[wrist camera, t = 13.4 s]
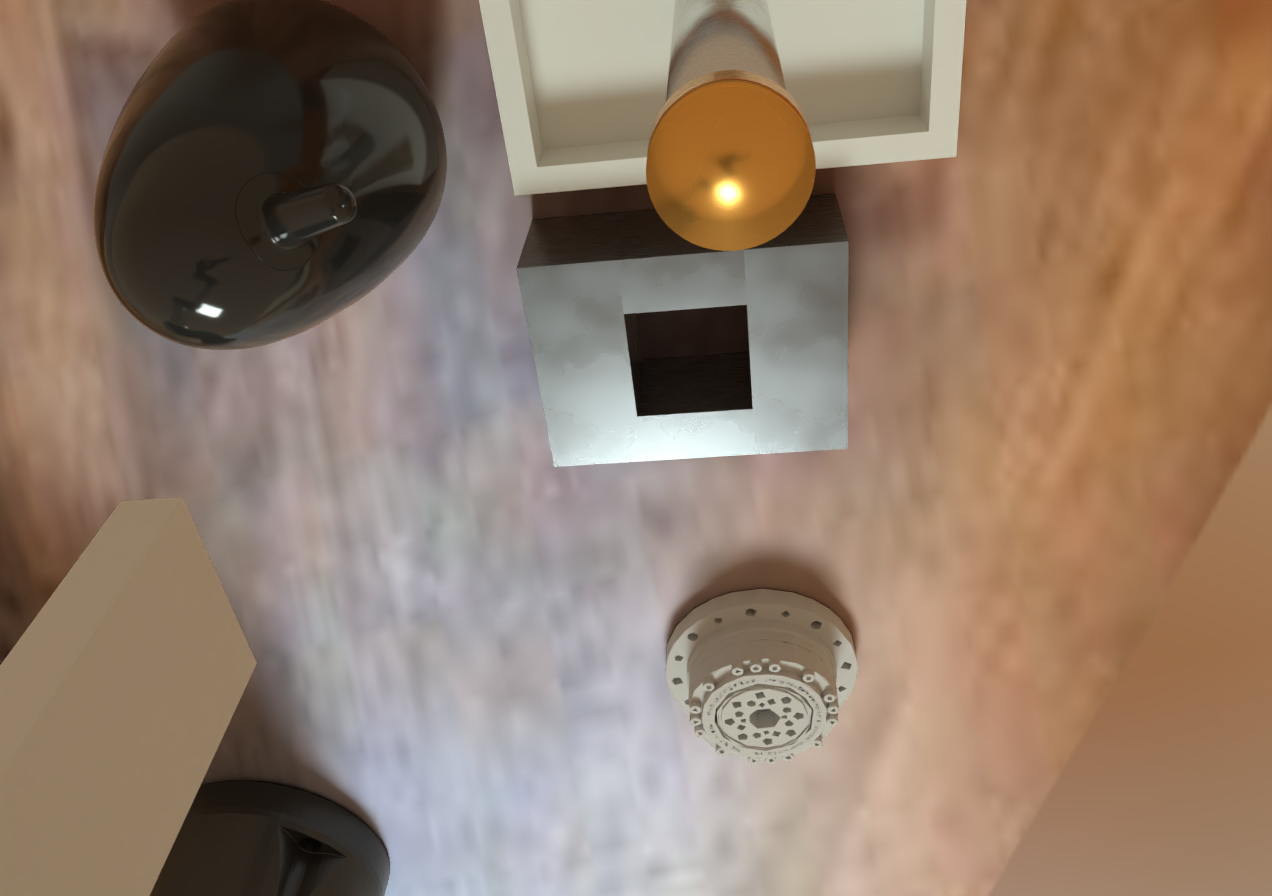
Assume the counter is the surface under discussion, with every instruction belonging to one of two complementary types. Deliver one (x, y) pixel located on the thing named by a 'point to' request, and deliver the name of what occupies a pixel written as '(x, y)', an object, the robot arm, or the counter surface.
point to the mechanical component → (761, 672)
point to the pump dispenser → (266, 174)
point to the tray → (638, 76)
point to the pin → (728, 131)
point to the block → (695, 385)
